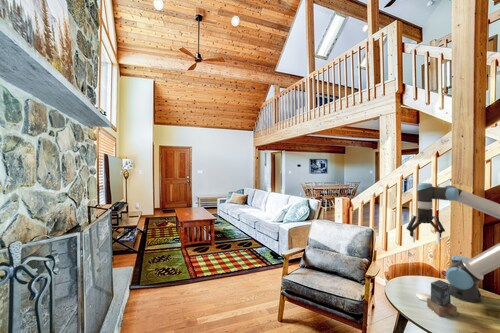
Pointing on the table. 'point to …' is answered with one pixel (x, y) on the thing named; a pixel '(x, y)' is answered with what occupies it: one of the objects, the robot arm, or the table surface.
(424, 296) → the coaster
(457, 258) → the robot arm
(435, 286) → the box
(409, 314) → the table surface
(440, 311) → the block
